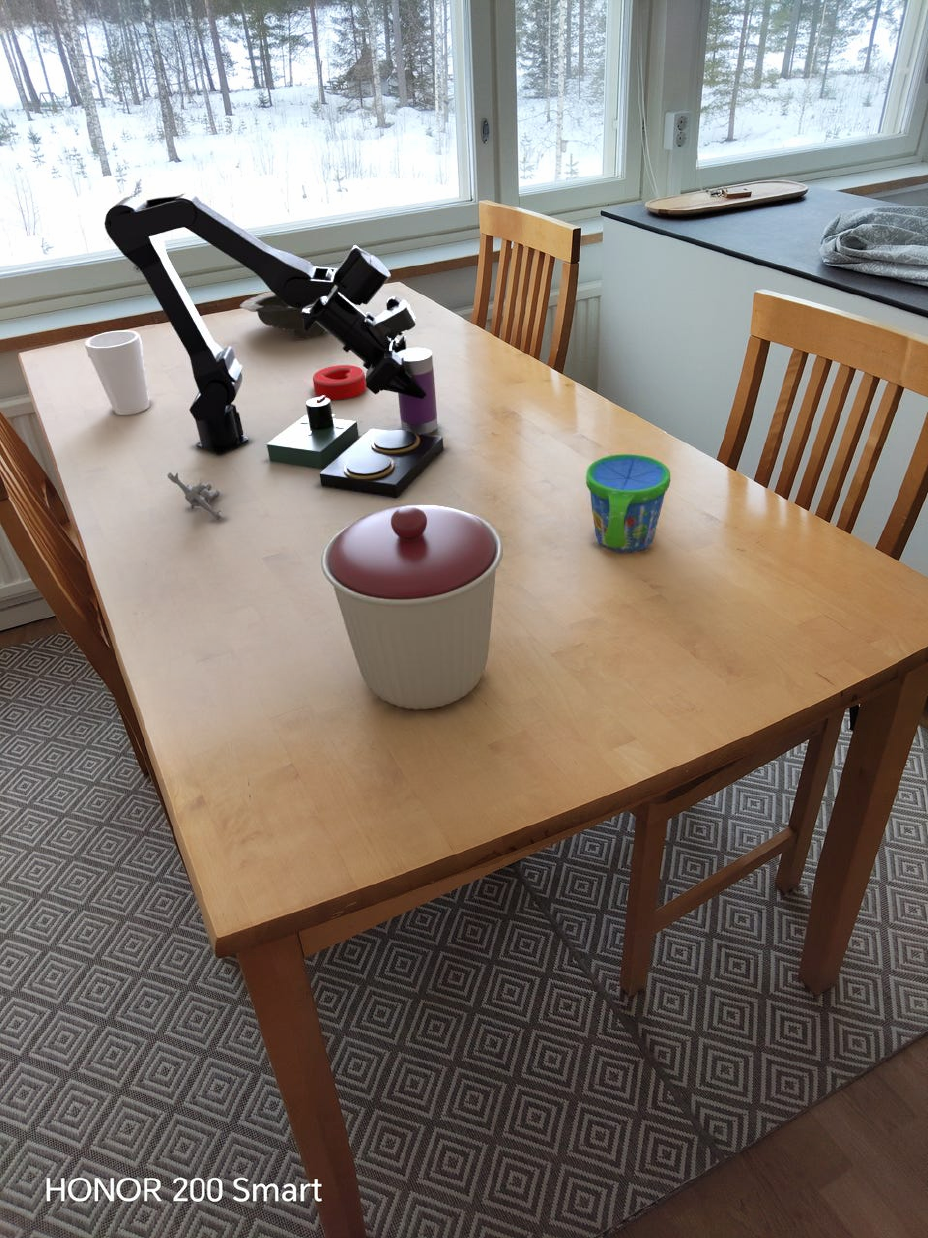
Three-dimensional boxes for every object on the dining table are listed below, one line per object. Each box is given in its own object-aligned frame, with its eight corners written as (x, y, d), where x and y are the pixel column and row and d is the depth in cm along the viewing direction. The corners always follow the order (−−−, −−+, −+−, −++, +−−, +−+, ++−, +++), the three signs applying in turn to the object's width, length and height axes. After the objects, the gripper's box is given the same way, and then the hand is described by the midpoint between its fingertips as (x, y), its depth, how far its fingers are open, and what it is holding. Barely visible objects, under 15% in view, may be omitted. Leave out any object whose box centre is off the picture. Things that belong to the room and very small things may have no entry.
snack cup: (647, 578, 113) (653, 506, 107) (567, 563, 117) (568, 493, 111) (677, 519, 125) (684, 451, 119) (603, 507, 128) (606, 440, 122)
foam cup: (165, 397, 172) (147, 329, 165) (146, 417, 165) (127, 347, 157) (117, 398, 173) (97, 330, 166) (97, 418, 166) (75, 348, 158)
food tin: (421, 437, 149) (415, 363, 142) (394, 429, 153) (386, 356, 145) (445, 424, 153) (440, 351, 146) (418, 416, 156) (411, 345, 149)
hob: (321, 486, 139) (318, 469, 137) (372, 440, 151) (370, 424, 149) (397, 498, 134) (395, 480, 132) (443, 449, 147) (442, 433, 145)
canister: (501, 624, 107) (495, 461, 95) (513, 728, 92) (508, 551, 80) (349, 634, 107) (323, 473, 95) (337, 739, 93) (304, 565, 80)
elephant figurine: (249, 498, 137) (227, 507, 128) (226, 527, 139) (203, 538, 130) (197, 454, 136) (172, 459, 128) (175, 483, 138) (148, 491, 129)
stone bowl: (339, 344, 190) (329, 299, 185) (230, 351, 196) (218, 309, 191) (371, 305, 209) (363, 264, 204) (272, 313, 215) (261, 273, 210)
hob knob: (326, 430, 148) (322, 405, 145) (304, 428, 149) (300, 403, 147) (338, 421, 151) (334, 396, 148) (317, 418, 152) (313, 394, 150)
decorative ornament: (309, 386, 173) (307, 370, 171) (358, 376, 175) (356, 360, 173) (322, 403, 165) (319, 387, 164) (372, 393, 168) (370, 376, 166)
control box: (269, 461, 147) (266, 443, 145) (311, 428, 157) (308, 411, 155) (323, 468, 144) (320, 450, 142) (362, 435, 153) (359, 417, 151)
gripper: (379, 304, 132) (459, 373, 138) (384, 270, 147) (456, 333, 153) (332, 361, 136) (412, 425, 143) (341, 321, 151) (413, 381, 158)
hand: (424, 388), depth 149 cm, fingers closed on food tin, 6 cm apart
